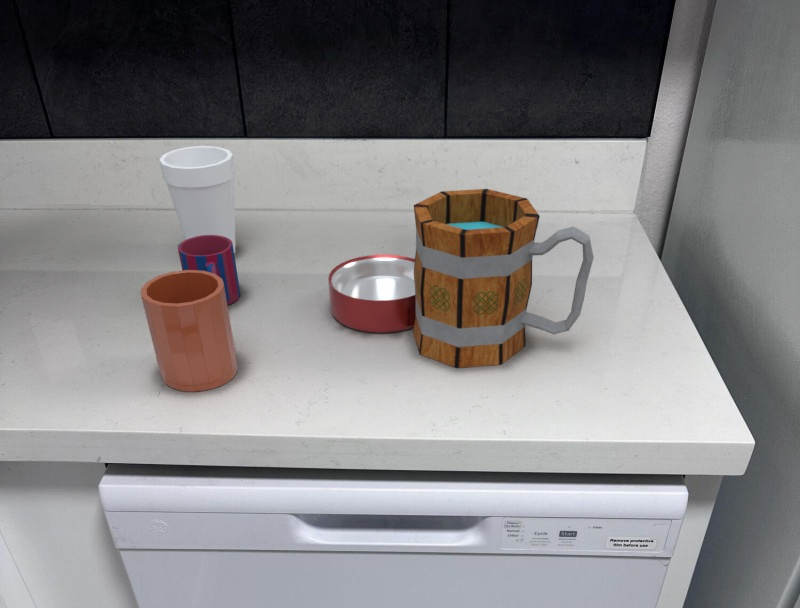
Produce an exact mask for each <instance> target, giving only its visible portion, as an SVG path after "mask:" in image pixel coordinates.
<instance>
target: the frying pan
mask: <svg viewBox="0 0 800 608" xmlns="http://www.w3.org/2000/svg"><path fill="white" fill-rule="evenodd" d="M415 255H416V243H415V244H414V246H413V247H412V249H411V250H410V252H409V253H408V254H407V256H404V255H398V254H372V255H363V256H358V257H354V258H352V259H348V260H345V261H343V262H341V263H339V264H338V265H336V266H335V267H334V268H332V269H331V271H330V272H329V274H328V277H327V278H328V279H327V281H328V292H329V293H328V294H329V309H330V310H331V311H330V312H331V314H332V315H333V317H334V318H335V320H336V321H338V322H339V323H340V324H342V325H344V326H346V327H347V328H350V329H353V330H355V331H361V332H365V333H377V334H379V333H381V334H382V333H383V334H384V333H385V334H386V333H387V334H388V333H396V332H401V331H406V330H409V329H413V328H414V322H415V315H416V294H415V282H414V265H415Z"/></svg>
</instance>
